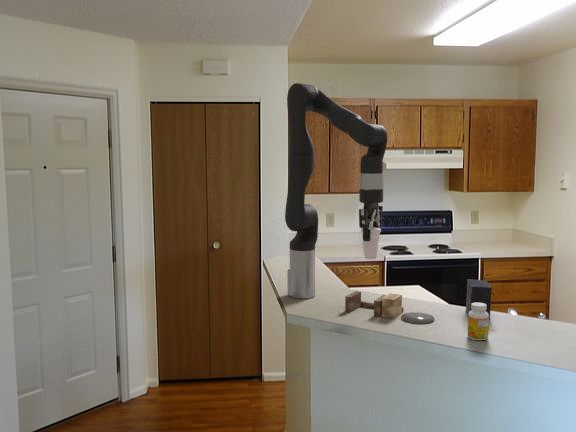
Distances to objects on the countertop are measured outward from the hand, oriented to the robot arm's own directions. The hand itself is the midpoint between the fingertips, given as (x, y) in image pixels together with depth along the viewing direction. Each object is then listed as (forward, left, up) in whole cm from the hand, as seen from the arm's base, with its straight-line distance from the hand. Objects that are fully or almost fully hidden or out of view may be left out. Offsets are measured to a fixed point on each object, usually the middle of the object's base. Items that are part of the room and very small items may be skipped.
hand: (370, 239), depth 173 cm
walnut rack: (+1, 0, -24) cm, 24 cm away
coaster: (+16, 0, -24) cm, 29 cm away
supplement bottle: (+36, -9, -24) cm, 44 cm away
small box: (+31, +14, -24) cm, 42 cm away
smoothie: (0, 0, -6) cm, 6 cm away
